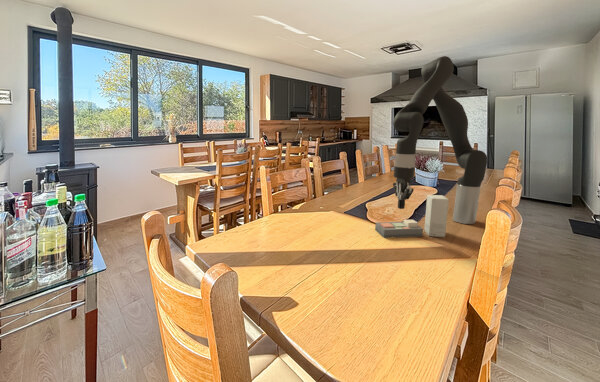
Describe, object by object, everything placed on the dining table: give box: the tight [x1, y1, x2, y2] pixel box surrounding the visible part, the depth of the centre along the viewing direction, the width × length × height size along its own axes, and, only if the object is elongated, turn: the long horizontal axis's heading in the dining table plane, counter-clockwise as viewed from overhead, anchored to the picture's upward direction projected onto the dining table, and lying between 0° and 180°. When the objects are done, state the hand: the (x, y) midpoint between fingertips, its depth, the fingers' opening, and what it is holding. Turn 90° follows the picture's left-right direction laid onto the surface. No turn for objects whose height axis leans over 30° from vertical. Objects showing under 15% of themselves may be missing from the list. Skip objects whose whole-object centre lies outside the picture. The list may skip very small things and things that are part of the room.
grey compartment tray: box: [374, 221, 424, 239], centre depth 117 cm, size 16×9×3 cm, turn 97°
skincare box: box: [423, 194, 450, 238], centre depth 116 cm, size 8×7×16 cm
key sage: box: [392, 223, 406, 228], centre depth 117 cm, size 4×4×2 cm
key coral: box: [380, 223, 394, 228], centre depth 116 cm, size 4×4×2 cm
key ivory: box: [402, 219, 419, 227], centre depth 117 cm, size 4×4×2 cm
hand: (400, 208), depth 115 cm, fingers closed
